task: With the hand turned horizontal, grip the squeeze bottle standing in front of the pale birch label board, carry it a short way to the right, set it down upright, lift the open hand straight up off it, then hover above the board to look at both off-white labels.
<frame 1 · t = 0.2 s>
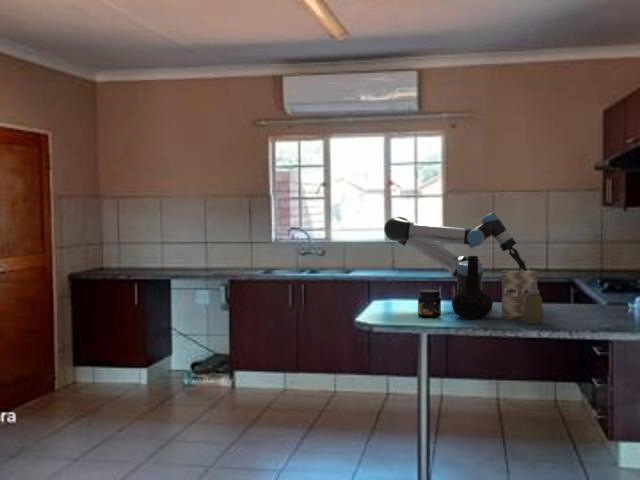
hand: (530, 277, 368), 15 cm above the breakfast bar, tool tilted 35°, fingers open, 13 cm apart
glass bottle: (472, 318, 339), on the breakfast bar
supplement container: (429, 317, 343), on the breakfast bar
squeeze bottle: (533, 324, 322), on the breakfast bar
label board: (519, 319, 334), on the breakfast bar
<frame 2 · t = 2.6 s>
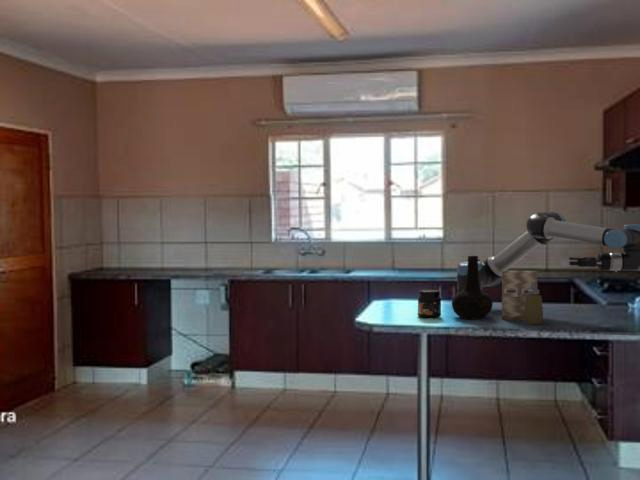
hand: (557, 262, 320), 26 cm above the breakfast bar, tool horizontal, fingers open, 13 cm apart
nothing on the breakfast bar moved.
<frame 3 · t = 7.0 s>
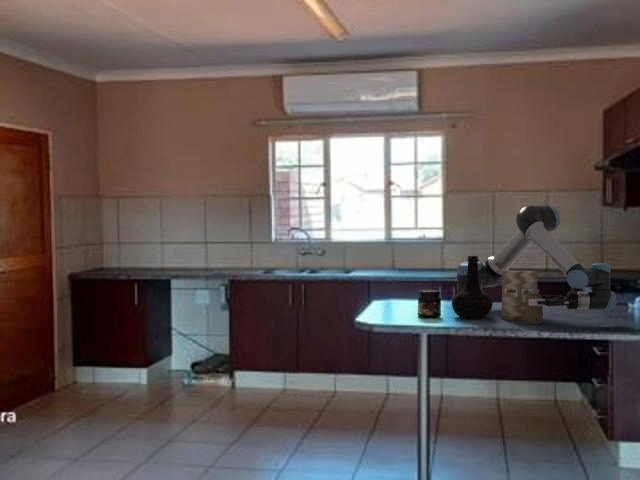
hand: (525, 300, 322), 10 cm above the breakfast bar, tool horizontal, fingers open, 13 cm apart
nothing on the breakfast bar moved.
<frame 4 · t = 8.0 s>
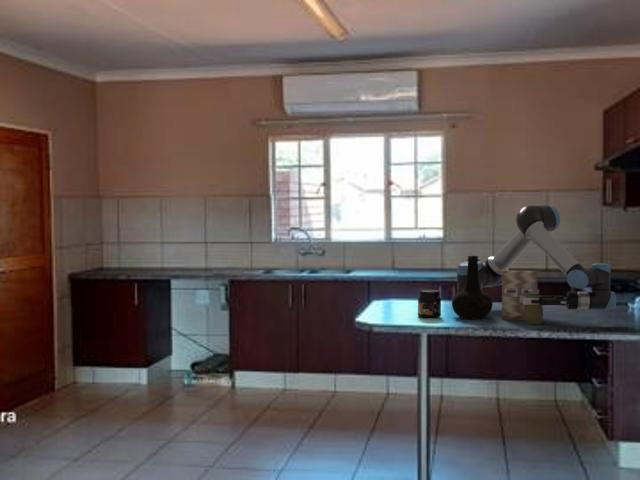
hand: (521, 300, 322), 10 cm above the breakfast bar, tool horizontal, fingers closed on squeeze bottle, 6 cm apart
squeeze bottle: (533, 324, 322), on the breakfast bar, touching gripper
everything else where it was.
when the fingers open (11 cm above the breakfast bar, at t = 11.8 s): squeeze bottle drops 1 cm, on the breakfast bar.
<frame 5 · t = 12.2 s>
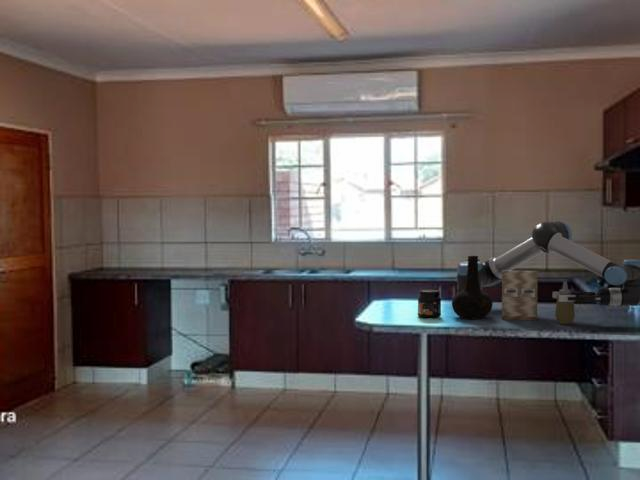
hand: (555, 296, 321), 11 cm above the breakfast bar, tool horizontal, fingers open, 11 cm apart
squeeze bottle: (564, 324, 322), on the breakfast bar
everything else where it was.
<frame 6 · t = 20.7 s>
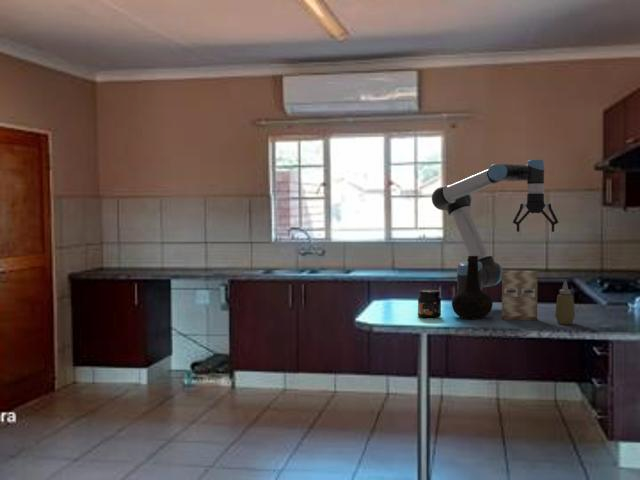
hand: (535, 239, 350), 35 cm above the breakfast bar, tool pointing down, fingers open, 13 cm apart
nothing on the breakfast bar moved.
at the end: squeeze bottle inside the target area (0.4 cm from its centre), on the breakfast bar; squeeze bottle tilted 0°; the gripper is holding nothing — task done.
